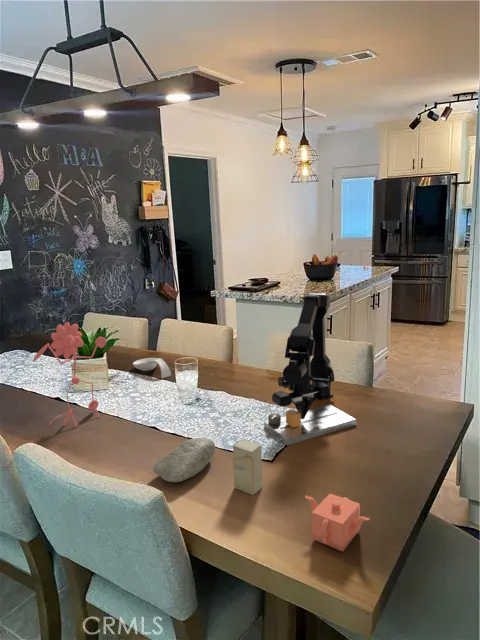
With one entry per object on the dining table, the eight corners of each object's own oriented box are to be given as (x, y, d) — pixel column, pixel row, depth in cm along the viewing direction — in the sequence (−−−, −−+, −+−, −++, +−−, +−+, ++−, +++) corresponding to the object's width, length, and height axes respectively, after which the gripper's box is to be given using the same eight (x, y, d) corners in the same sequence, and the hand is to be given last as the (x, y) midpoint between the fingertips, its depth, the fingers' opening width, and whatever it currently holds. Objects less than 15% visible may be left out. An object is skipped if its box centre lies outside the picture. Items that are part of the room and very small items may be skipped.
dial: (271, 418, 157) (270, 412, 157) (282, 420, 155) (282, 414, 155) (266, 424, 153) (266, 417, 153) (278, 425, 152) (278, 419, 151)
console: (329, 409, 167) (329, 404, 167) (355, 424, 155) (355, 419, 154) (264, 427, 156) (264, 421, 156) (286, 445, 144) (286, 439, 143)
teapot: (318, 510, 113) (318, 479, 111) (380, 534, 104) (380, 500, 102) (292, 539, 104) (291, 505, 102) (357, 567, 95) (357, 531, 93)
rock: (228, 459, 136) (175, 496, 122) (201, 450, 144) (148, 483, 130) (224, 435, 135) (170, 469, 120) (197, 427, 142) (143, 458, 128)
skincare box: (233, 488, 123) (231, 445, 121) (244, 480, 127) (241, 438, 124) (253, 496, 120) (251, 451, 117) (263, 487, 123) (261, 444, 120)
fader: (294, 420, 155) (293, 408, 154) (300, 425, 151) (300, 413, 150) (286, 422, 153) (285, 411, 152) (292, 427, 150) (292, 415, 149)
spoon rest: (129, 369, 222) (127, 354, 220) (151, 363, 229) (149, 348, 227) (155, 381, 204) (154, 365, 202) (178, 374, 211) (177, 359, 210)
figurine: (120, 409, 176) (108, 316, 168) (56, 437, 157) (38, 333, 149) (95, 401, 186) (83, 313, 178) (32, 426, 166) (15, 329, 159)
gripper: (311, 360, 161) (312, 403, 164) (262, 370, 153) (264, 416, 157) (331, 369, 151) (331, 415, 155) (280, 381, 143) (282, 429, 147)
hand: (302, 418), depth 153 cm, fingers closed
